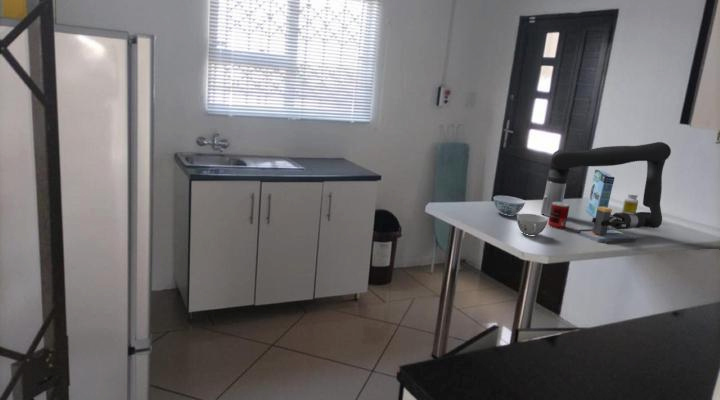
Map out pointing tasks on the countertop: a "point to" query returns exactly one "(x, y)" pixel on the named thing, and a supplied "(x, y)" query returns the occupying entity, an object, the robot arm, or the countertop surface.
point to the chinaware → (508, 204)
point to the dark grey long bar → (619, 240)
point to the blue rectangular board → (609, 235)
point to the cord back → (587, 230)
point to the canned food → (558, 214)
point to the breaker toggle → (601, 215)
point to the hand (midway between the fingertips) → (597, 221)
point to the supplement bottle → (630, 203)
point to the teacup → (531, 223)
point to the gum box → (599, 191)
